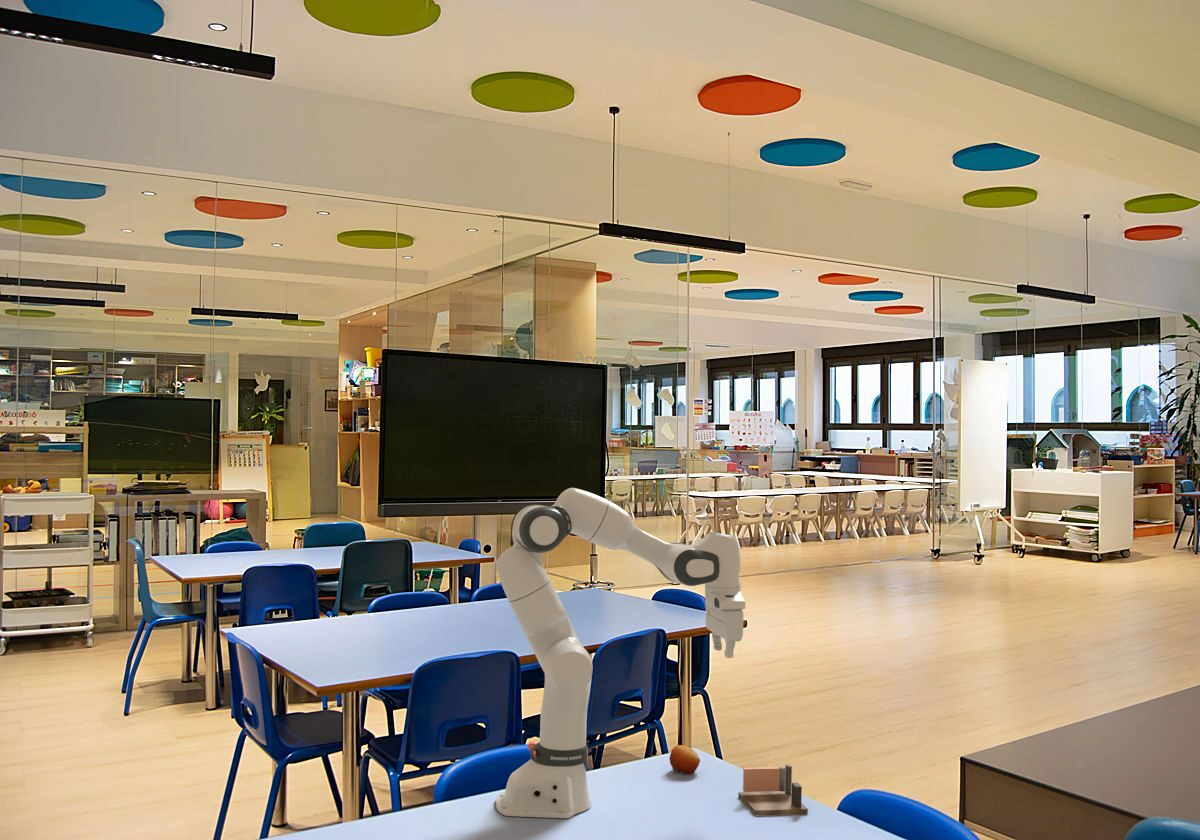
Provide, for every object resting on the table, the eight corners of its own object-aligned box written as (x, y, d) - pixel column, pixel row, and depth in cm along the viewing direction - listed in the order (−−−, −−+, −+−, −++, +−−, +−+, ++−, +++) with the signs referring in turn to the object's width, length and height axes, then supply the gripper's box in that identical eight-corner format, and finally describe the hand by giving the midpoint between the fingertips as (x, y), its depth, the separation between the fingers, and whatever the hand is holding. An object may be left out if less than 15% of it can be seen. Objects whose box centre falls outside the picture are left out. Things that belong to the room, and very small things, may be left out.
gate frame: (755, 815, 225) (755, 780, 225) (738, 797, 237) (739, 764, 237) (807, 814, 227) (808, 779, 227) (788, 795, 239) (789, 763, 240)
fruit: (660, 762, 259) (675, 736, 260) (684, 777, 259) (699, 751, 260) (665, 771, 251) (681, 745, 252) (690, 787, 251) (706, 761, 252)
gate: (744, 792, 235) (745, 769, 235) (742, 790, 236) (743, 767, 237) (785, 791, 236) (786, 768, 237) (783, 789, 238) (784, 766, 238)
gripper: (699, 592, 249) (699, 646, 249) (722, 603, 229) (722, 662, 228) (722, 592, 250) (723, 645, 250) (747, 603, 230) (748, 661, 229)
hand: (723, 653), depth 239 cm, fingers open, 8 cm apart
